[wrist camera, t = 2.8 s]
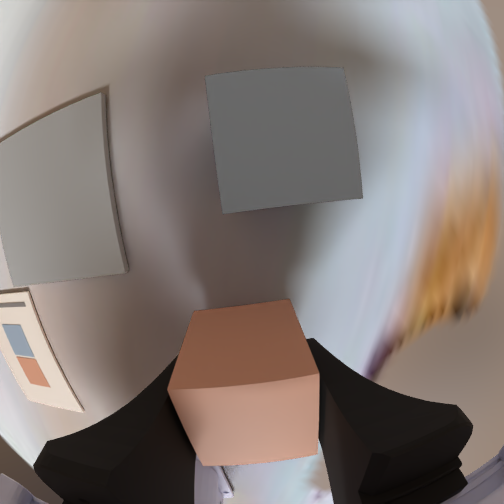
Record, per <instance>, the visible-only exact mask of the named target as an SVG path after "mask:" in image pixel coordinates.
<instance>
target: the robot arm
mask: <svg viewBox="0 0 504 504" xmlns="http://www.w3.org/2000/svg"><path fill="white" fill-rule="evenodd" d="M306 341H307V343H308V346H309V348H310V351H311V353H312V356H313V358H314V361H315V363H316V366H317V368H318V371H319V431H318V438H319V441H320V444H321V447H322V451H323V455H324V459H325V463H326V467H327V472H328V476H329V481H330V486H331V491H332V496H333V502H334V504H504V446H503V447H502V448H501V450H500V451H499V454H497V455H496V456H495V457H493V458H492V459H491V460H489V461H488V462H487V463H485V464H484V465H483V466H481V467H480V468H478V469H477V470H475V471H474V472H472V473H471V474H470V475H468V476H466V477H464V475H463V474H462V472H461V471H460V469H459V468H460V467H461V465H462V462H461V461H460V459H459V458H458V455H459V454H460V452H461V451H462V450H463V448H464V446H465V445H466V443H467V442H468V440H469V438H470V436H471V434H472V429H473V425H472V423H471V422H470V420H469V419H468V418H467V416H466V415H465V414H464V413H463V411H462V410H461V409H460V408H459V407H458V406H457V405H452V404H444V403H436V402H430V401H425V400H421V399H417V398H413V397H410V396H406V395H403V394H400V393H397V392H395V391H392V390H389V389H387V388H385V387H382V386H380V385H378V384H376V383H374V382H372V381H370V380H368V379H366V378H365V377H363V376H361V375H360V374H358V373H357V372H355V371H353V370H352V369H351V368H349V367H348V366H346V365H345V364H344V363H342V362H341V361H340V360H338V359H337V358H336V357H335V356H333V355H332V354H331V353H330V352H329V351H327V350H326V349H325V348H324V347H323V346H322V345H321V344H320V343H319V342H317V341H316V340H315V339H314V338H310V339H306ZM177 358H178V356H177V357H176V358H175V359H174V360H173V361H172V362H171V363H170V364H169V365H168V366H167V368H166V369H165V370H164V371H163V372H162V373H161V374H160V375H159V376H158V377H157V378H156V379H155V380H154V381H153V382H152V383H151V384H150V385H149V386H148V387H147V388H145V389H144V390H143V391H142V392H141V393H140V394H139V395H138V396H137V397H135V398H134V399H133V400H132V401H130V402H129V403H128V404H127V405H125V406H124V407H122V408H121V409H120V410H118V411H117V412H115V413H113V414H112V415H110V416H108V417H107V418H105V419H103V420H101V421H100V422H98V423H96V424H94V425H92V426H90V427H88V428H85V429H83V430H81V431H78V432H76V433H73V434H70V435H67V436H64V437H61V438H57V439H54V440H50V441H47V443H46V444H45V446H44V448H43V449H42V451H41V453H40V455H39V456H38V458H37V460H36V462H35V463H34V465H33V466H34V470H35V472H36V474H37V475H38V476H39V477H40V478H41V480H42V481H43V482H44V483H45V484H46V485H48V486H49V487H50V488H51V489H52V490H53V491H54V492H55V493H56V494H58V495H59V496H60V497H61V498H63V500H64V501H63V503H62V504H223V498H232V497H234V493H233V491H232V489H231V487H230V485H229V483H228V481H227V479H226V477H225V475H224V472H223V470H222V468H221V466H203V465H202V463H201V461H200V460H199V458H198V456H197V454H196V452H195V450H194V448H193V446H192V444H191V442H190V440H189V438H188V436H187V434H186V431H185V429H184V427H183V425H182V423H181V421H180V418H179V416H178V414H177V412H176V409H175V407H174V405H173V402H172V400H171V398H170V395H169V393H168V390H167V389H168V386H169V382H170V379H171V376H172V373H173V370H174V367H175V364H176V361H177ZM0 504H48V503H46V502H44V501H42V500H40V499H38V498H36V497H34V496H33V495H32V494H31V493H30V492H29V491H28V490H27V489H26V488H24V487H23V486H22V485H21V484H19V483H18V482H16V481H14V480H13V479H11V478H9V477H8V476H6V475H4V474H1V475H0Z"/></svg>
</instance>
